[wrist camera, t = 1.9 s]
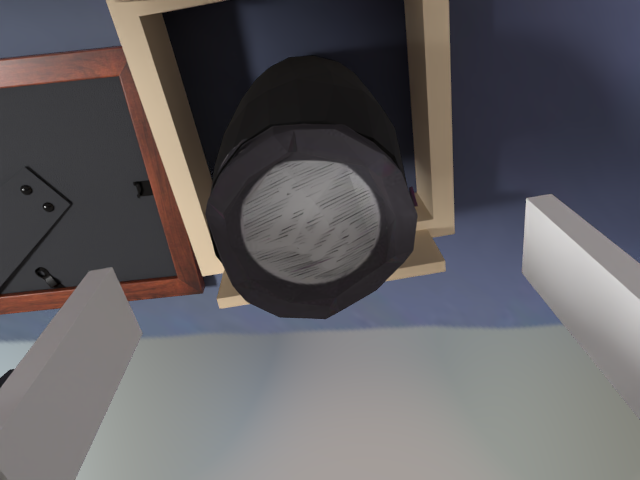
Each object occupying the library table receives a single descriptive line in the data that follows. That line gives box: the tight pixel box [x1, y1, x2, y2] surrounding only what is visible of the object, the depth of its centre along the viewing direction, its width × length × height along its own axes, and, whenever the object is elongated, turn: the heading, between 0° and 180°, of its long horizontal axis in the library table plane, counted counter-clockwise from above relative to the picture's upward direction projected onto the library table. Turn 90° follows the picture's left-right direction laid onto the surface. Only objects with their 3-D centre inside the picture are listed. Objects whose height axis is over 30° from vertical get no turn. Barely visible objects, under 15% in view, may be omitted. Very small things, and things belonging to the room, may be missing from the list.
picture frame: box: [0, 46, 205, 314], centre depth 35 cm, size 20×2×25 cm
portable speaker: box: [205, 55, 418, 319], centre depth 25 cm, size 9×9×20 cm
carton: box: [106, 0, 455, 309], centre depth 29 cm, size 19×19×10 cm
